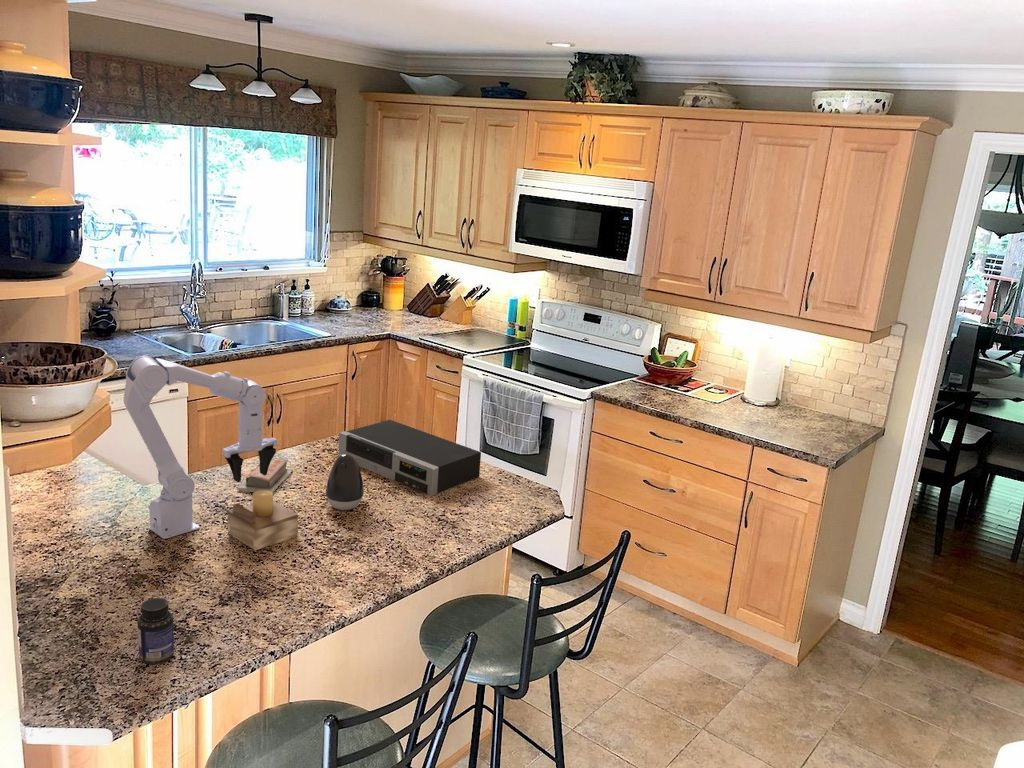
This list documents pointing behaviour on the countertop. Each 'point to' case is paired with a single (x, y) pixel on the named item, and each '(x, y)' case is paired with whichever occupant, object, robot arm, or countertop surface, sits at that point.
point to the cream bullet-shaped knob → (263, 503)
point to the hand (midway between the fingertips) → (250, 477)
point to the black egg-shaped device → (345, 483)
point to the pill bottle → (155, 632)
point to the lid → (258, 523)
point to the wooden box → (262, 533)
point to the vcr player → (411, 456)
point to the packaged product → (266, 477)
